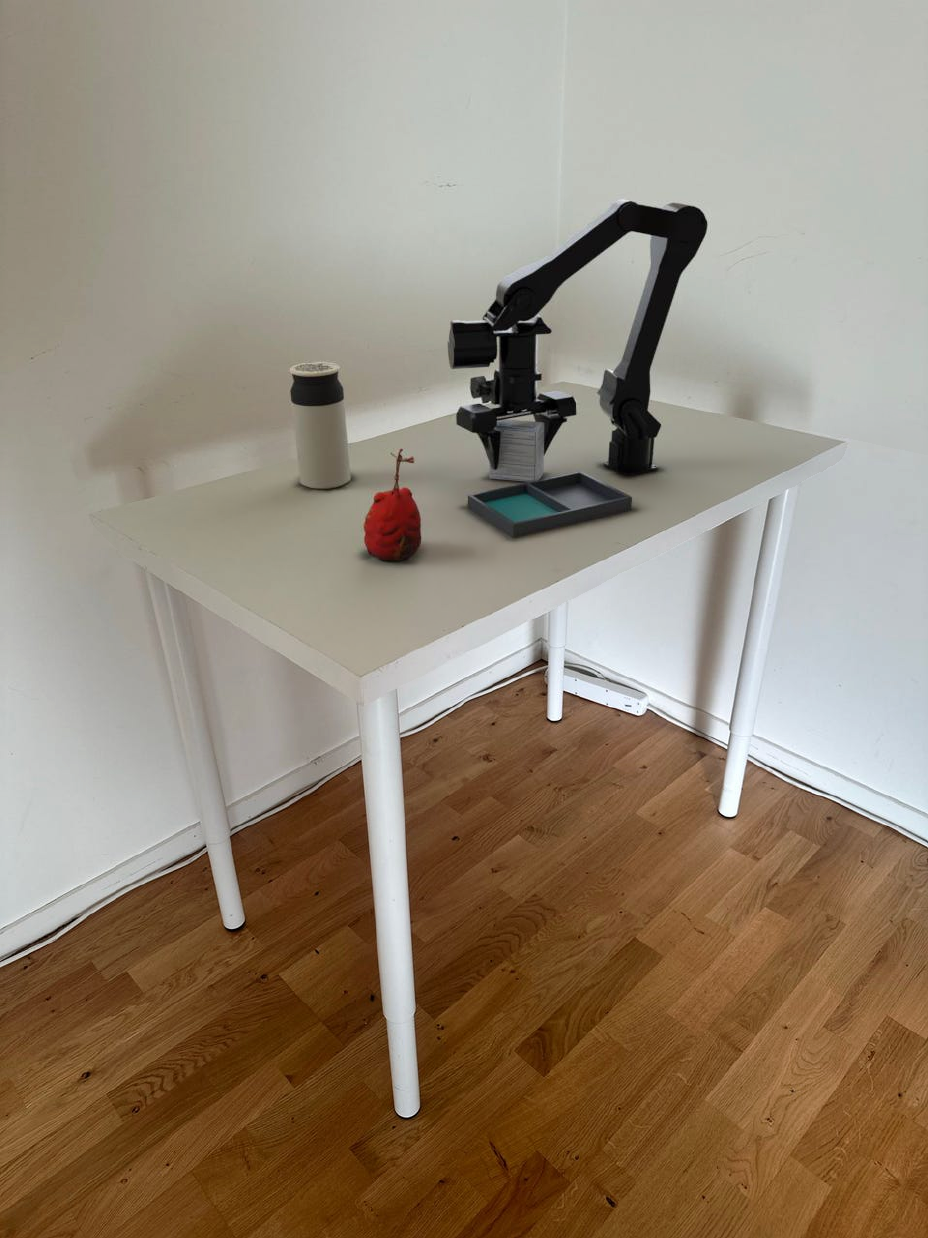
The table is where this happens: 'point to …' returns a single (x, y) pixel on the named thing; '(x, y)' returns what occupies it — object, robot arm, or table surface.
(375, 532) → the red lumpy rounded piece
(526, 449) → the medicine box
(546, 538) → the table surface
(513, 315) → the robot arm
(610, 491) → the organiser tray
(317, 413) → the travel mug
